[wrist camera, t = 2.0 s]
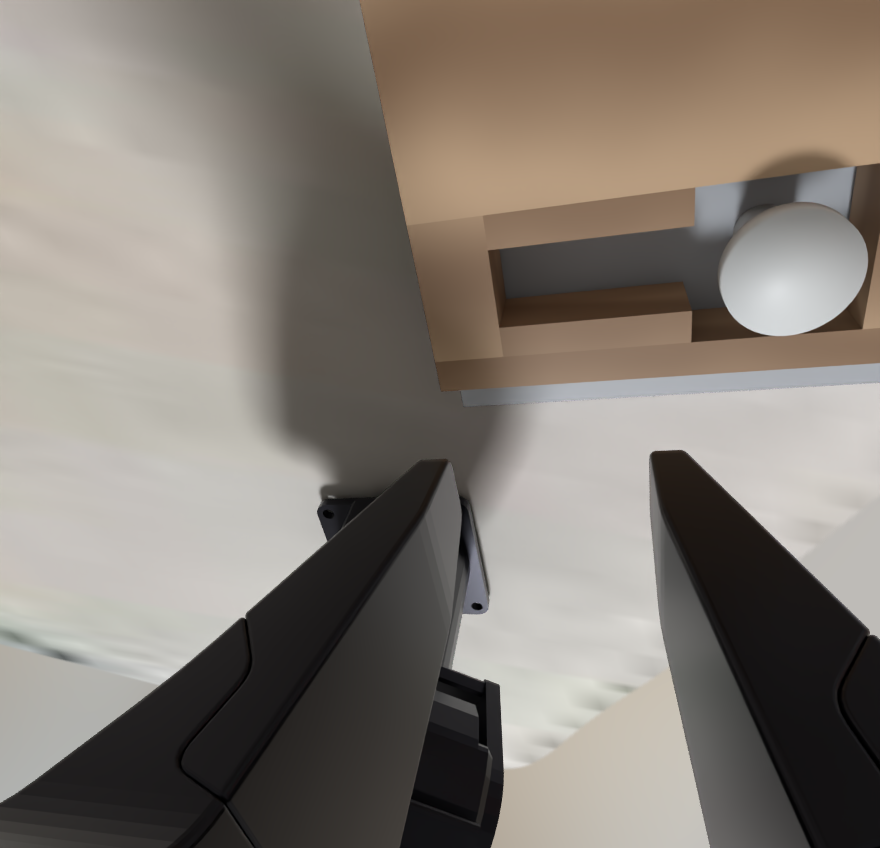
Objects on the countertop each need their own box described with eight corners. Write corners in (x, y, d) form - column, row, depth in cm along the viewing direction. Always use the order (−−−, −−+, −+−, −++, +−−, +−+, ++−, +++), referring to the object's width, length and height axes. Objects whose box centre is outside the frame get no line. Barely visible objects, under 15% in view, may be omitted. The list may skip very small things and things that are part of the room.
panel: (872, 327, 18) (900, 361, 16) (452, 359, 21) (441, 391, 19) (1056, -654, 10) (1151, -782, 8) (312, -368, 13) (272, -419, 11)
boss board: (1077, 349, 19) (1194, 438, 15) (468, 389, 23) (447, 465, 20) (1601, -1045, 8) (2397, -1846, 5) (309, -485, 13) (199, -669, 9)
